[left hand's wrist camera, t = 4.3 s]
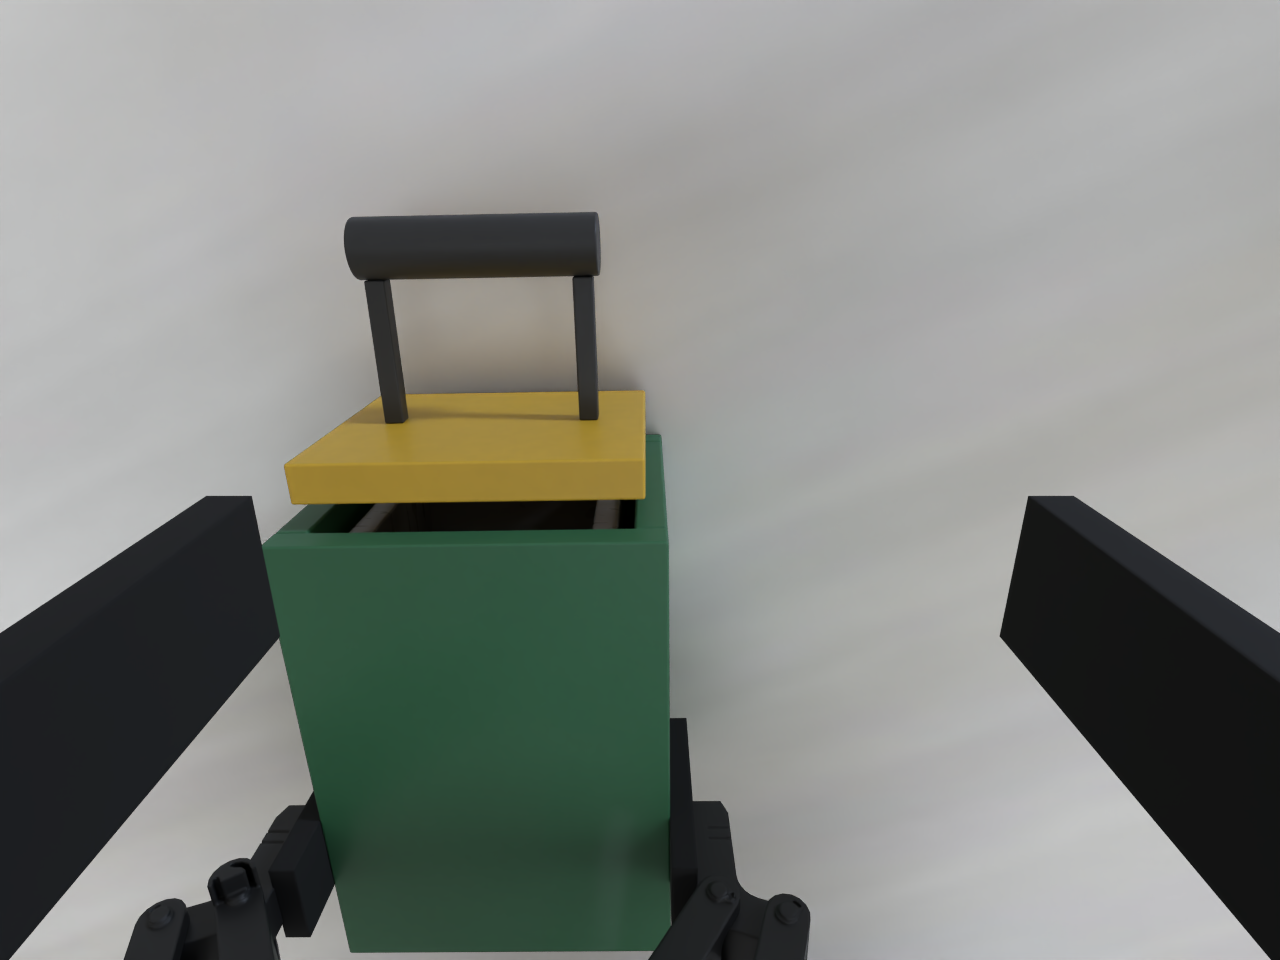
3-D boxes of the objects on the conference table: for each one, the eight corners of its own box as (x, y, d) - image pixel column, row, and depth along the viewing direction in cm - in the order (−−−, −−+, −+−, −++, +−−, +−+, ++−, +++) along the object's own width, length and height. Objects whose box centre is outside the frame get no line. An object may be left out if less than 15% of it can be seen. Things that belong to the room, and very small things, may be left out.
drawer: (355, 216, 25) (231, 220, 17) (642, 210, 24) (640, 211, 17) (428, 708, 32) (362, 859, 24) (650, 706, 32) (651, 856, 24)
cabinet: (382, 438, 28) (257, 547, 19) (661, 433, 28) (668, 542, 19) (429, 752, 34) (349, 953, 25) (664, 750, 34) (670, 951, 25)
